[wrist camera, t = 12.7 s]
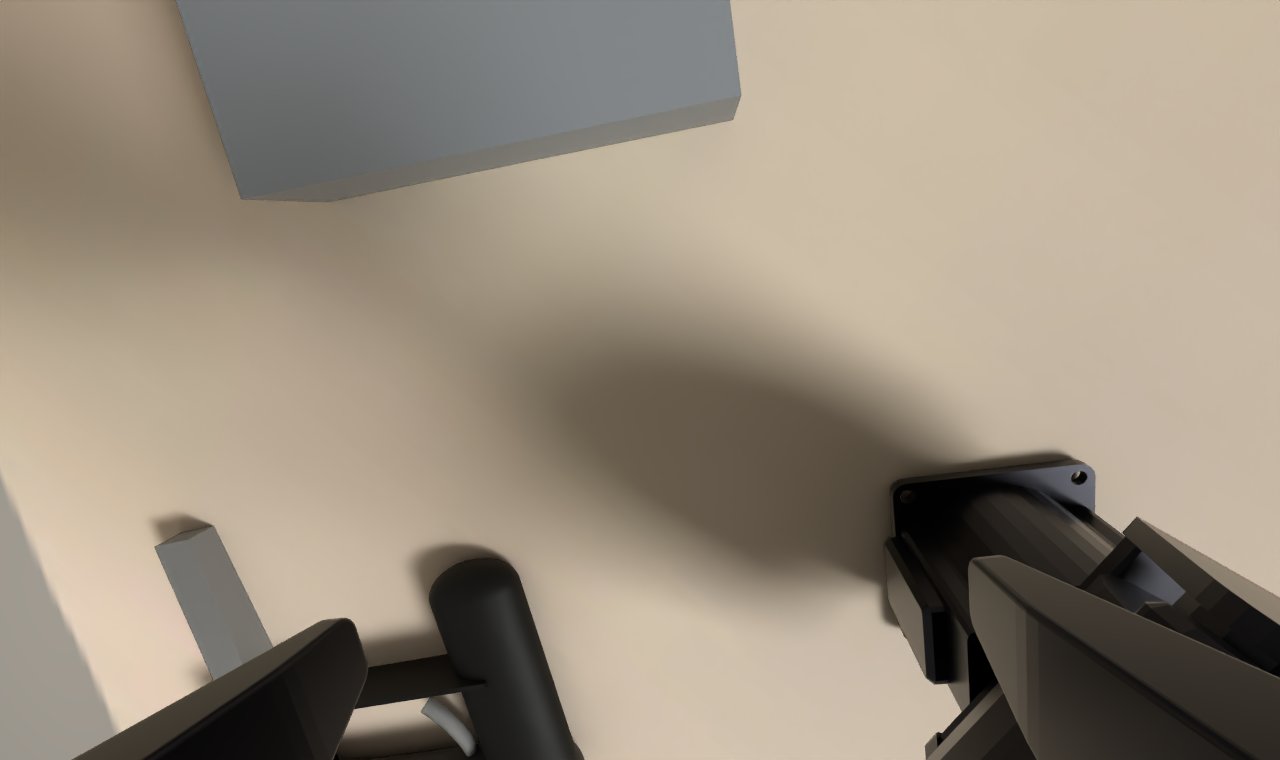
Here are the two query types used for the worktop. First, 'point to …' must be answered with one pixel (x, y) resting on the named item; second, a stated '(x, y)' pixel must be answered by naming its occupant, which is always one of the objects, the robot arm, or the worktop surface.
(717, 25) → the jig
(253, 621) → the door handle
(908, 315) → the worktop surface
